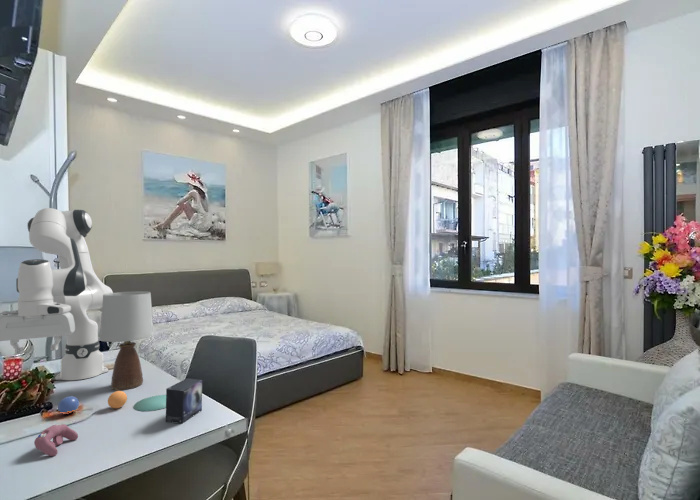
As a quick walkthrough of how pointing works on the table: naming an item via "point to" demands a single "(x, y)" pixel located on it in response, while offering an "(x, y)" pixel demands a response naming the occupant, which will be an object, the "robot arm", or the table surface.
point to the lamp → (126, 333)
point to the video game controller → (54, 438)
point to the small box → (183, 400)
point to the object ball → (117, 399)
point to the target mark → (151, 403)
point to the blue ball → (68, 404)
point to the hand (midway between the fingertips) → (37, 351)
